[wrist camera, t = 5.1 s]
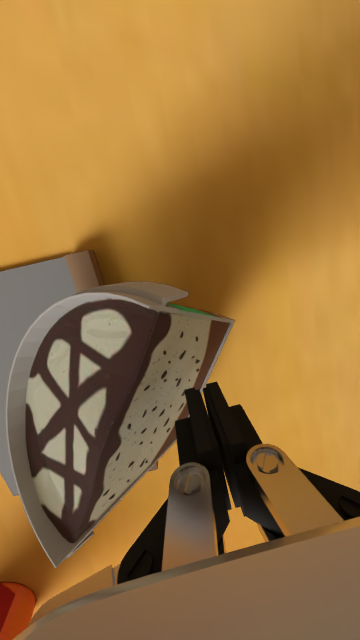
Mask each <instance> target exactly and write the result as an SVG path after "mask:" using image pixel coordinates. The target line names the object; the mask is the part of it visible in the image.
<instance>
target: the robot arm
mask: <svg viewBox="0 0 360 640" xmlns="http://www.w3.org/2000/svg"><path fill="white" fill-rule="evenodd" d="M184 392H185V397H186V402H187V406H188V411H189V416H190V417H187V418H184V419H180V420H176V421H175V429H176V437H177V446H178V454H179V462H180V467H178V468H177V469H176V470H175V471H174V473H173V474H172V476H171V479H170V485H169V496H168V499H167V500H166V501H165V503H164V504H163V505H162V507H161V508H160V509H159V511H158V512H157V513H156V515H155V516H154V517H153V519H152V520H151V521H150V523H149V524H148V525H147V527H146V528H145V529H144V531H143V532H142V533H141V535H140V536H139V537H138V539H137V540H136V541H135V543H134V544H133V545H132V547H131V548H130V549H129V551H128V552H127V553H126V555H125V557H124V558H123V560H122V562H121V564H119V565H117V566H116V567H114V568H113V567H112V565H110V566H108V567H106V568H104V569H102V570H101V571H99V572H97V573H95V574H94V575H92V576H90V577H88V578H86V579H85V580H83V581H81V582H79V583H77V584H76V585H74V586H72V587H70V588H69V589H67V590H65V591H63V592H61V593H60V594H58V595H56V596H54V597H52V598H51V599H49V600H48V601H47V602H46V603H44V604H43V605H42V606H41V607H40V608H39V610H38V611H37V612H36V613H35V614H34V616H33V618H32V619H31V621H30V623H29V625H28V627H27V628H26V629H25V630H24V631H22V632H21V633H20V634H19V635H17V636H16V637H15V638H14V639H13V640H360V492H359V491H357V490H354V489H351V488H349V487H346V486H344V485H341V484H339V483H336V482H334V481H331V480H328V479H326V478H323V477H321V476H318V475H316V474H313V473H311V472H308V471H305V470H303V469H300V468H298V467H297V466H296V465H295V464H294V463H293V462H292V460H291V459H290V458H289V457H288V456H287V455H286V454H285V452H283V451H282V450H281V449H280V448H278V447H276V446H274V445H271V444H263V443H262V442H261V440H260V438H259V436H258V434H257V433H256V431H255V429H254V427H253V426H252V424H251V422H250V420H249V419H248V417H247V415H246V413H245V411H244V410H243V408H242V406H241V405H240V404H239V405H235V406H231V407H229V406H228V404H227V402H226V400H225V398H224V396H223V394H222V391H221V389H220V387H219V385H218V383H217V382H213V383H209V384H206V388H203V393H204V397H205V402H206V407H207V411H208V414H207V411H206V408H205V405H204V402H203V398H202V395H201V392H200V389H197V390H195V387H193V388H189V389H185V390H184ZM208 416H209V417H208ZM224 473H225V475H224ZM225 476H226V479H227V482H228V485H229V488H230V492H231V495H232V498H233V501H234V504H235V507H236V508H237V507H241V509H242V512H243V515H244V517H245V516H247V517H248V518H250V519H251V520H253V521H255V522H256V523H257V525H258V528H259V531H260V533H261V534H262V536H263V538H264V540H265V543H261V544H257V545H254V546H250V547H247V548H243V549H239V550H236V551H232V552H229V553H226V549H225V540H224V536H223V534H224V532H225V530H226V528H227V526H228V524H229V522H230V520H229V515H228V511H227V510H230V509H232V508H231V504H230V499H229V494H228V489H227V485H226V480H225Z"/></svg>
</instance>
